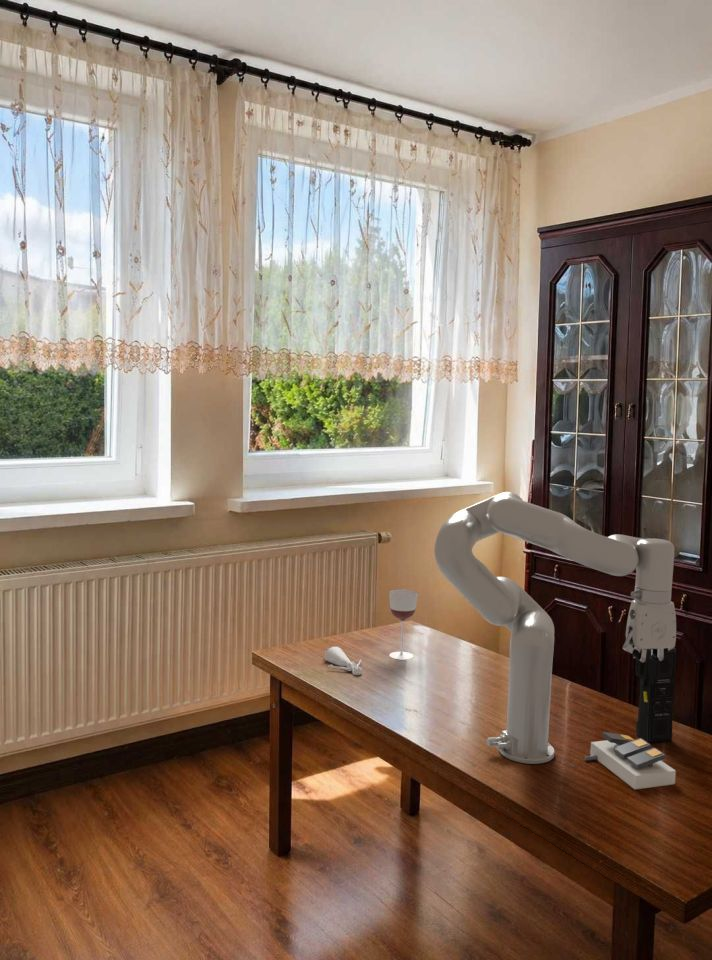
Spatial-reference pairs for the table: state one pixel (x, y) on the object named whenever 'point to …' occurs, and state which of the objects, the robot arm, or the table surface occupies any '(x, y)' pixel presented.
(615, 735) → the rocker near arm
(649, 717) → the portable radio
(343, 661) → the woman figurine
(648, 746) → the rocker middle
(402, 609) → the wineglass
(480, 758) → the table surface
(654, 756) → the rocker far end
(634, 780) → the rocker switch panel
